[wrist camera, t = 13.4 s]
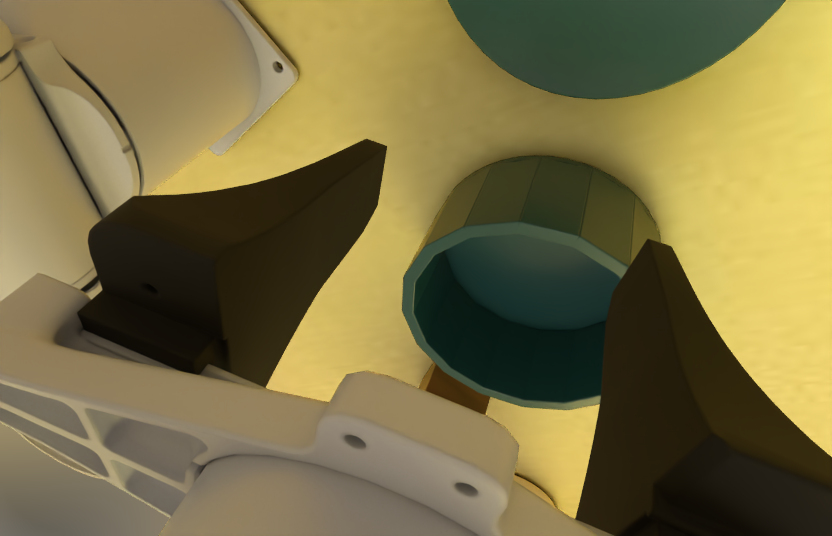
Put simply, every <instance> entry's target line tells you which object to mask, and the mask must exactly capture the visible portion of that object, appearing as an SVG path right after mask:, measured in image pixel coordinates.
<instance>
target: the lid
mask: <svg viewBox="0 0 832 536" xmlns="http://www.w3.org/2000/svg"><path fill="white" fill-rule="evenodd" d="M785 1H786V0H448V2H449V4H450V6H451V8H452V10H453V12H454V14H455V16H456V17H457V19H458V21H459V22H460V24H461V25H462V27H463V28H464V30H465V31H466V32H467V34H468V35H469V37H470V38H471V39H472V40H473V41H474V42H475V44H476V45H477V46H478V47H479V48H480V49H481V50H482V52H483V53H484V54H486V55H487V56H488V57H489V58H490V59H491V60H492V61H494V62H495V63H496V64H497V65H498V66H499V67H501V68H502V69H504V70H505V71H507V72H508V73H510V74H511V75H513V76H514V77H516V78H518V79H520V80H522V81H524V82H526V83H528V84H530V85H532V86H534V87H537V88H540V89H543V90H545V91H548V92H551V93H555V94H560V95H564V96H569V97H574V98H587V99H610V98H622V97H628V96H634V95H640V94H644V93H647V92H651V91H654V90H658V89H662V88H665V87H667V86H670V85H672V84H675V83H677V82H679V81H682V80H684V79H687V78H689V77H691V76H693V75H694V74H696V73H698V72H700V71H702V70H704V69H706V68H708V67H710V66H711V65H713V64H714V63H716V62H717V61H719V60H720V59H722V58H723V57H725V56H726V55H728V54H729V53H731V52H732V51H734V50H735V49H736V48H737V47H738V46H740V45H741V44H742V43H743V42H744V41H746V40H747V39H748V38H749V37H750V36H752V35H753V34H754V33H755V32H757V31H758V30H759V29H760V28H761V26H762V25H763V24H764V23H765V22H766V21H767V20H768V19H769V18H770V17H771V16H772V15H773V14H774V13H775V12H776V11H777V10H778V9H779V8H780V7H781V6H782V4H783V3H784V2H785Z"/></svg>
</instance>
